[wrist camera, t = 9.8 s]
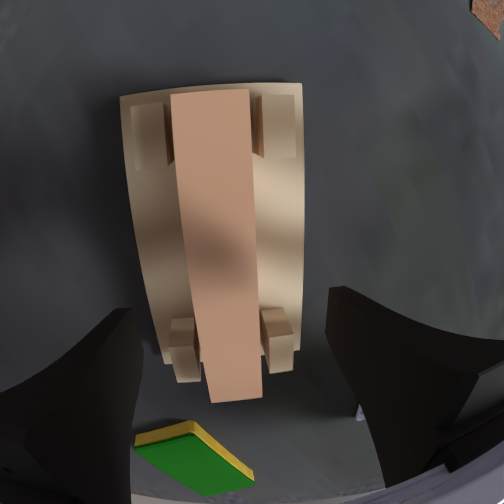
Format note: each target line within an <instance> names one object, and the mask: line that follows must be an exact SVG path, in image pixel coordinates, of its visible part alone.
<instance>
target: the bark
mask: <svg viewBox="0 0 504 504" xmlns="http://www.w3.org/2000/svg"><path fill="white" fill-rule="evenodd" d="M494 3H495V4H496V2H495V1H494ZM494 3H493V2H492V1H491V0H473V2H472V11H471V12H472V13H473V14H475V15H476V17H477V18H478V19H480V21H482V23H484V24H485V26H486V27H487V28H488V29H489V30H490V31H492V33H493V34H494V35H495V37H496V38H498V40H499V41H500V37H501V35H500V32H499V27H500V23H501V20H504V0H499V1H497V3H498V4H497V5H495V6H494V7H493V6H492V5H493V4H494ZM502 13H503V14H502Z"/></svg>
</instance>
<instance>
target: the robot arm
mask: <svg viewBox="0 0 504 504" xmlns="http://www.w3.org/2000/svg"><path fill="white" fill-rule="evenodd" d="M325 334H326V337H327V339H328V342H329V345H330V348H331V350H332V353H333V355H334V357H335V359H336V361H337V362H338V364H339V366H340V368H341V370H342V372H343V374H344V375H345V377H346V379H347V381H348V383H349V384H350V386H351V388H352V390H353V392H354V394H355V395H356V397H357V400H358V402H359V407H358V410H357V413H356V417H355V418H356V420H357V421H360V420H364V419H365V420H366V422H367V424H368V427H369V430H370V433H371V436H372V439H373V442H374V445H375V448H376V452H377V455H378V459H379V462H380V466H381V469H382V474H383V478H384V482H385V487H386V489H384V490H381V491H379V492H376V493H373V494H370V495H367V496H364V497H361V498H358V499H355V500H351V501H348V502H345V503H341V504H504V340H492V339H482V338H475V337H469V336H464V335H459V334H455V333H451V332H447V331H443V330H440V329H437V328H433V327H430V326H428V325H425V324H422V323H419V322H417V321H414V320H412V319H409V318H407V317H405V316H403V315H401V314H399V313H396V312H394V311H392V310H390V309H388V308H386V307H384V306H382V305H381V304H379V303H377V302H375V301H373V300H371V299H369V298H368V297H366V296H364V295H362V294H360V293H358V292H356V291H354V290H353V289H350V288H348V287H346V286H339V287H332V288H329V296H328V307H327V318H326V328H325ZM143 354H144V351H143V348H142V344H141V341H140V338H139V334H138V331H137V327H136V324H135V320H134V317H133V313H132V309H131V308H117V309H115V310H113V311H112V312H111V313H110V314H109V315H107V316H106V317H105V318H104V319H103V320H102V321H101V322H100V323H99V324H98V325H97V326H96V327H95V328H94V329H93V330H91V331H90V332H89V333H88V334H87V335H86V336H85V337H84V338H83V339H82V340H81V341H79V342H78V343H77V344H76V345H75V346H74V347H73V348H71V349H70V350H69V351H68V352H67V353H66V354H64V355H63V356H62V357H61V358H59V359H58V360H57V361H55V362H54V363H52V364H51V365H50V366H48V367H47V368H45V369H44V370H42V371H41V372H39V373H37V374H36V375H34V376H32V377H31V378H29V379H27V380H26V381H24V382H22V383H20V384H18V385H16V386H14V387H12V388H10V389H8V390H5V391H3V392H1V393H0V504H131V491H130V438H131V428H132V421H133V416H134V411H135V406H136V401H137V396H138V391H139V386H140V382H141V377H142V368H143Z"/></svg>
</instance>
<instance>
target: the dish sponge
mask: <svg viewBox="0 0 504 504" xmlns="http://www.w3.org/2000/svg"><path fill="white" fill-rule="evenodd" d="M134 452H135V453H137V454H138V455H140V456H141V457H142V458H144V459H145V460H147V461H148V462H149V463H151V464H152V465H154V466H155V467H157V468H158V469H160V470H161V471H163V472H164V473H166V474H167V475H169V476H170V477H172V478H173V479H175V480H177V481H178V482H180V483H182V484H183V485H185V486H186V487H188V488H190V489H192V490H193V491H195V492H197V493H198V494H200V495H202V496H211V495H216V494H221V493H225V492H229V491H234V490H238V489H242V488H246V487H250V486H253V485H254V484H255V482H254V476H253V471H252V470H250V469H249V468H248V467H247V466H245V465H244V464H243V463H242V462H240V461H239V460H238V459H237V458H235V457H234V456H233V455H232V454H231V453H230V452H228V451H227V450H226V449H225V448H224V447H223V446H221V445H220V444H219V443H218V442H217V441H216V440H215V439H213V438H212V437H211V436H210V435H209V434H208V433H207V432H206V431H205V430H204V429H202V428H201V427H200V426H199V425H198V424H197V423H196V422H195V421H191V420H188V421H185V422H182V423H178V424H175V425H171V426H168V427H164V428H161V429H157V430H153V431H149V432H146V433H142V434H138V435H136V439H135V446H134Z"/></svg>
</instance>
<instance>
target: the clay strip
mask: <svg viewBox="0 0 504 504" xmlns="http://www.w3.org/2000/svg"><path fill="white" fill-rule="evenodd" d="M170 96H171V113H172V128H173V141H174V154H175V165H176V176H177V186H178V196H179V205H180V214H181V222H182V230H183V238H184V246H185V254H186V261H187V268H188V275H189V282H190V288H191V295H192V301H193V307H194V313H195V319H196V325H197V331H198V337H199V342H200V348H201V353H202V359H203V364H204V369H205V374H206V379H207V384H208V389H209V394H210V399H211V403H217V402H227V401H237V400H245V399H253V398H261V397H262V373H261V347H260V323H259V298H258V274H257V251H256V228H255V205H254V183H253V161H252V140H251V119H250V98H249V89H228V90H212V91H200V92H189V93H179V94H171V95H170Z"/></svg>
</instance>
